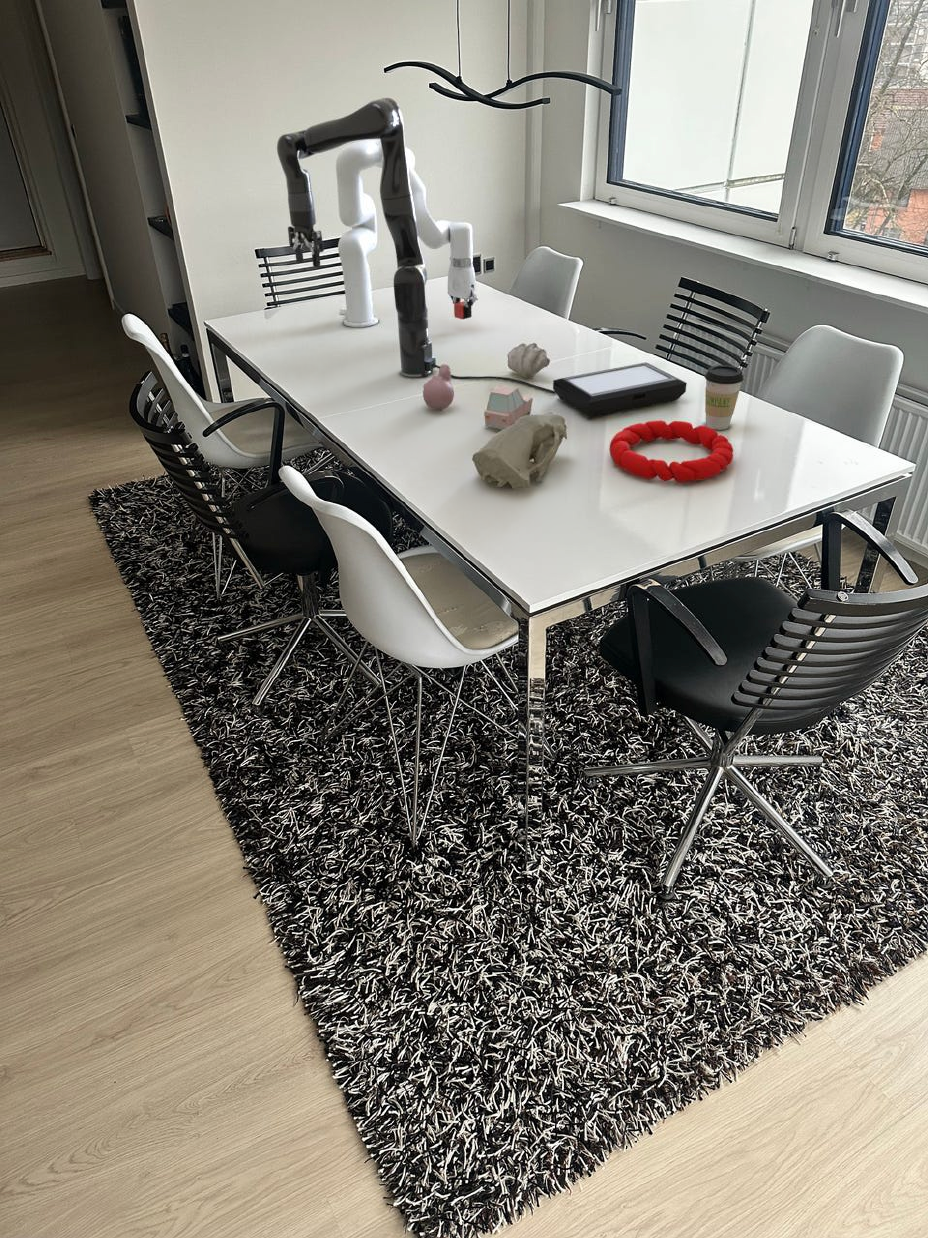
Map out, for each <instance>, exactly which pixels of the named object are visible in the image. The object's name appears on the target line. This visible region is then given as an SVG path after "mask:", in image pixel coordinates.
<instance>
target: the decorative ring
mask: <svg viewBox="0 0 928 1238" xmlns="http://www.w3.org/2000/svg"><path fill="white" fill-rule="evenodd" d="M657 439H662V440H665V441H672V440H678V439H682V440H683V441H685V442H687V443H689V444H692V445H702V447H703V448H704V449H707V450H709V451H710V452H712V453H710V454H709V455H707V456H706V457H702V458H698V459H692V460H691V459H690V460H683V461H681V462H680V463H679V462H678V461H675V460H674V461H671V462H670V463H669V465H668V463H667V461H665V460H663V459H654V458H652V459H648V458H647V456H646V455H642V454H639V453H638V452H637V451H634V450H631V447H634V446H636V445H638V444H639V443H641V441H642V442H652V441H654V440H657ZM733 453H734V448H733V445H732V444H731V442H729V439H728V438H727V437H726V436H725V435H722V434H719V432H718V431H717V430H716V429H711V428H709V427H707V426H706V425H697V426H696V427H693V424H692V423H691V422H688V421H682V420H673V421H671V422H669V424H668V423H667V422H666V421H665V420H659V419H658V420H649V421H646V422H645V423H642V422H639V423H638V422H637V423H634V424H631V425H629V426H627V427H624V428H623V429H622V430H620V431H618V432H617V433H615V434H614V436H613V437H612V438H611V441H610V443H609V454H610V458H611V460H612V461H613V462H614V464H615V465H616V466H618V467H619V468H620V469H621V470H624V471H626V472H627V473H628V474H631V475H633V476H636V477H639V478H642V479H646V480H652V479H655V478H656V477H658V479H660V480H661V481H662V482H669V481H670V480H674V481H675V483H690V482H691V483H692V482H696V481H698V480H700V481H703V480H704V481H705V480H707V479H711V478H713V477H715V476H718V475H719V474H720V473H721V472H723V471H725V470H726V469H727V468H728V466H729V465H731V464H732V462H733V459H734V454H733Z"/></svg>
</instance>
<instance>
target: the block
mask: <svg viewBox="0 0 928 1238" xmlns="http://www.w3.org/2000/svg"><path fill="white" fill-rule="evenodd" d="M464 307H465V303H464V301H460V303H456V304H453V309H454V308H455V315H454V318H456V319H458V320H465V319H464Z"/></svg>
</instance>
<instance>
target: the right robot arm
mask: <svg viewBox="0 0 928 1238" xmlns="http://www.w3.org/2000/svg"><path fill="white" fill-rule="evenodd" d="M369 139H379V140H380V141H381V146H382V152H383V167H382V168H381V173H380V181H379V199H380V202H381V208H382V213H383V217H384V221H385V224H386V226H387V228H388V231H389V233H390V236H391V239H392V241H393V245H394V249H395V256H396V266H397V267H396V268H397V269H396V271H395V272H394V276H393V294H394V305H395V311H396V314H397V328H398V329H397V330H398V343H399V358H400V374H401V375H402V376H404V377H406V378H426V377H428V376H429V375H430V374H431V373H433V372H434V369H435V368H436V369H438V370H439V369H440V366H441V365H437V364H436V363H437V362H436V361H437V360H436V357H434V356H433V342H432V341H431V340H430V332H429V331H430V330H429V314H428V311H429V310H428V307H427V302H426V301H427V300H426V284H427V281H428V272H427V269H426V264H425V261H424V257H423V253H422V250H421V246H420V241H419V236H418V231H417V221H416V213H415V206H414V200H413V194H412V189H411V184H410V178H409V171H408V165H407V159H406V151H405V147H406V139H405V125H404V117H403V113H402V110H401V107H400V105H399V104H398V103H397V101H396V100H394V99H393V98H391V97H383V98H379V99H376V100H375V99H374V100H371V101H369V102H368V103H367V104H365V105H363V106H361V107H359V109H357V110H355V111H354V112H352V113H350V114H348V115H345V116H343V117H340V118H335V119H331V120H326V121H323V122H319V123H317V124H314V125H312V126H309V127H307V128H306V129H303V130H299V131H294V132H290V133H285V134H282V135H280V136H279V138H278V140H277V143H276V153H277V157H278V160H279V162H280V165H281V168H282V171H283V173H284V176H285V181H286V189H287V203H288V211H289V218H290V219H289V220H290V225H291V226H288V227H287V233H288V243H289V247H290V248H292V249H293V251H294V253H295V254H294V255H295V260H296V263H297V264H300V263H301V264H302V263H303V262H304V253H303V246H304V245H305V246H306V248H307V249H309V250H310V252H311V260H312V266H313V268H318V267H320V266H321V256H320V253H323V252H324V251H325V250H324V249H325V248H324V241H323V235H322V231H321V230H315V228H314V226H315V225H316V224H317V220H316V211H315V210H316V209H315V203H314V201H315V200H314V197H313V191H312V183H311V176H310V173H309V171H308V169H305V168H302V166H301V163H300V160H303V159H307V158H309V157H312V156H315V155H316V154H322V153H325V152H329V151H332V150H334V149H337V148H340V147H343V146H344V145H346V144H349V143H354V142H358V141H362V140H369ZM452 378H453V379H456V380H457V379H458V380H488V379H489V380H503V381H510V382H515V383H520V384H523V385H526V386H528V387H531V388H534V389H538V390H541V391H545V392H548V393H550V394H554V395H556V392H555V391H554V390H553V389H549V388H546V387H543V386H539V385H536V384H533V383H531V382H528V381H524V380H520V379H516V378H513V377H504V376H494V375H493V376H492V375H487V376H482V375H481V376H472V375H471V376H468V375H467V376H458V375H454V374H451V379H452Z"/></svg>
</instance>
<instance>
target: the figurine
mask: <svg viewBox="0 0 928 1238" xmlns="http://www.w3.org/2000/svg"><path fill="white" fill-rule="evenodd" d="M439 366H440V369H439V368H438V374H437V375H434V376H433V377H431V378H430V379H429V380H428V381H427V382H426V383H424V384H423V386H422V389H423V390H422V398H423V400H424V403H425V404H426V405H427V406H428V407H429V408H431V409H432V410H436V411H440V410H445V409H447V408H448V407H450V406H451V404H452V403H453V402H454V399H455V389H454V387H453V384H452V381H451V379H452V377H451V375H452V371H451V367H450V365H448V364H445V363H442V364H441V365H439Z"/></svg>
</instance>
